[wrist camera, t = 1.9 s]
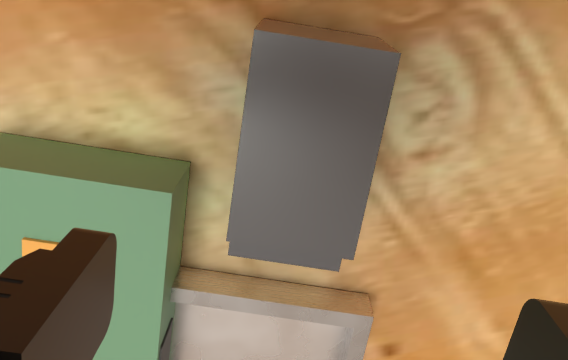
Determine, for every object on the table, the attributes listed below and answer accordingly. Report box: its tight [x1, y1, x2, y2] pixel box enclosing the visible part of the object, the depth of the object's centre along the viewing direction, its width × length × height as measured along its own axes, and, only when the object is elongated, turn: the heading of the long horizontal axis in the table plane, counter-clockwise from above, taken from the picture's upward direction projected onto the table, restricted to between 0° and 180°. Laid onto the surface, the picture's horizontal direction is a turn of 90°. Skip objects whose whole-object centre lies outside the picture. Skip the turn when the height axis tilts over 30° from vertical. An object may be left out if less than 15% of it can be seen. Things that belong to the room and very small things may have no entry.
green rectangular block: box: [0, 133, 191, 360], centre depth 27 cm, size 20×9×4 cm, turn 171°
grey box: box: [226, 19, 401, 272], centre depth 22 cm, size 10×5×6 cm, turn 171°
